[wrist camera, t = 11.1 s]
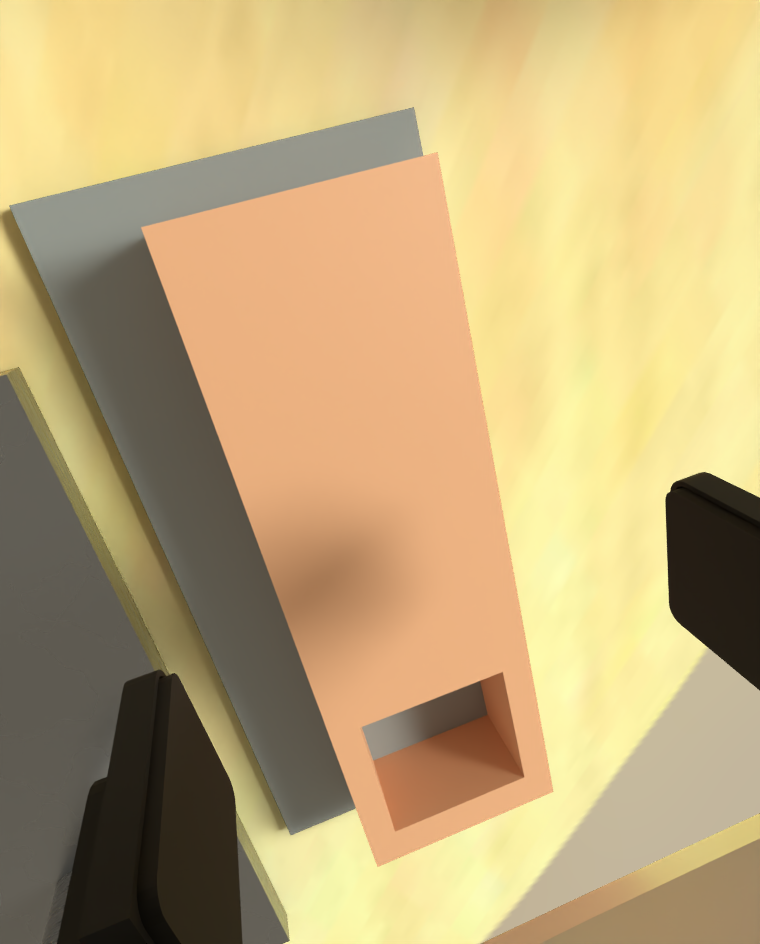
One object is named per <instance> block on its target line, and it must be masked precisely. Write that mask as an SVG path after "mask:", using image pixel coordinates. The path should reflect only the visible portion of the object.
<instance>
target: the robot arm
mask: <svg viewBox="0 0 760 944" xmlns="http://www.w3.org/2000/svg"><path fill="white" fill-rule="evenodd" d="M665 502H666V530H667V558H668V586H669V606H670V610H671V612H672V614H673V616H674V618H675V619H676V620H677V621H678V622H679V623H680V624H681V625H682V626H683V627H684V628H685V629H687V630H688V631H689V632H690V633H691V634H693V635H694V636H695V637H696V638H697V639H699V640H700V641H701V642H702V643H703V644H705V645H706V646H707V647H708V648H709V649H711V650H712V651H713V652H714V653H715V654H717V655H718V656H719V657H720V658H721V659H723V660H724V661H725V662H726V663H727V664H729V665H730V666H731V667H732V668H733V669H735V670H736V671H737V672H738V673H739V674H741V675H742V676H743V677H744V678H746V679H747V680H748V681H749V682H750V683H751V684H753V685H754V686H755V687H756V688H757V689H759V690H760V498H759V497H757V496H755V495H753V494H751V493H749V492H747V491H745V490H743V489H741V488H739V487H737V486H734V485H732V484H730V483H728V482H726V481H724V480H722V479H720V478H718V477H716V476H714V475H712V474H709V473H706V472H702V473H698V474H695V475H693V476H690V477H687V478H684V479H682V480H679V481H676V482H675V483H673V485H672V487H671V491H670V492H669V493H668V494H667V496H666V501H665ZM57 944H243V941H242V922H241V902H240V883H239V863H238V844H237V825H236V805H235V796H234V791H233V787H232V784H231V781H230V779H229V777H228V775H227V773H226V771H225V769H224V767H223V765H222V763H221V761H220V759H219V757H218V755H217V753H216V751H215V749H214V747H213V745H212V743H211V741H210V739H209V737H208V735H207V733H206V731H205V729H204V727H203V725H202V723H201V721H200V719H199V717H198V715H197V713H196V711H195V709H194V707H193V705H192V703H191V701H190V699H189V697H188V695H187V693H186V691H185V689H184V687H183V685H182V683H181V681H180V679H179V677H178V676H177V675H176V674H175V673H174V674H171V675H168V676H166V675H165V673H164V672H163V671H162V670H156V671H153V672H151V673H148V674H145V675H142V676H140V677H137V678H134V679H131V680H129V681H126V682H125V683H124V686H123V691H122V696H121V702H120V707H119V713H118V719H117V724H116V730H115V735H114V741H113V746H112V752H111V757H110V763H109V768H108V774H107V777H105V778H102V779H100V780H97V781H95V782H94V783H93V785H92V786H91V787H90V790H89V793H88V796H87V801H86V806H85V811H84V815H83V820H82V825H81V830H80V835H79V839H78V844H77V849H76V854H75V859H74V863H73V868H72V873H71V878H70V882H69V887H68V892H67V897H66V902H65V906H64V911H63V916H62V921H61V926H60V930H59V935H58V940H57ZM481 944H760V813H759V814H757V815H755V816H753V817H751V818H748V819H746V820H744V821H742V822H740V823H738V824H736V825H733V826H731V827H729V828H727V829H725V830H723V831H720V832H718V833H716V834H714V835H712V836H710V837H707V838H705V839H703V840H701V841H699V842H697V843H695V844H693V845H690V846H688V847H686V848H684V849H682V850H680V851H677V852H675V853H673V854H671V855H669V856H667V857H664V858H662V859H660V860H658V861H656V862H654V863H652V864H650V865H647V866H645V867H643V868H641V869H639V870H637V871H634V872H632V873H630V874H628V875H626V876H624V877H622V878H619V879H617V880H615V881H613V882H611V883H609V884H607V885H605V886H602V887H600V888H598V889H596V890H594V891H592V892H589V893H587V894H585V895H583V896H581V897H579V898H577V899H574V900H573V901H570V902H568V903H566V904H564V905H562V906H560V907H558V908H555V909H553V910H551V911H549V912H547V913H545V914H543V915H541V916H539V917H536V918H535V919H532V920H530V921H528V922H526V923H524V924H522V925H519V926H517V927H515V928H513V929H511V930H509V931H507V932H505V933H503V934H500V935H498V936H496V937H494V938H492V939H490V940H488V941H486V942H483V943H481Z"/></svg>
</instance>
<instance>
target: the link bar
mask: <svg viewBox="0 0 760 944" xmlns="http://www.w3.org/2000/svg"><path fill="white" fill-rule="evenodd" d="M141 229H142V232H143V234H144V237H145V240H146V243H147V245H148V248H149V251H150V253H151V256H152V259H153V261H154V264H155V267H156V270H157V272H158V275H159V278H160V280H161V283H162V286H163V288H164V291H165V294H166V297H167V299H168V302H169V305H170V307H171V310H172V313H173V315H174V318H175V321H176V324H177V326H178V329H179V332H180V334H181V337H182V340H183V342H184V345H185V348H186V351H187V353H188V356H189V359H190V361H191V364H192V367H193V369H194V372H195V375H196V378H197V380H198V383H199V386H200V388H201V391H202V394H203V396H204V399H205V402H206V405H207V407H208V410H209V413H210V415H211V418H212V421H213V423H214V426H215V429H216V432H217V434H218V437H219V440H220V442H221V445H222V448H223V450H224V453H225V456H226V459H227V461H228V464H229V467H230V469H231V472H232V475H233V477H234V480H235V483H236V486H237V488H238V491H239V494H240V496H241V499H242V502H243V504H244V507H245V510H246V513H247V515H248V518H249V521H250V523H251V526H252V529H253V531H254V534H255V537H256V540H257V542H258V545H259V548H260V550H261V553H262V556H263V558H264V561H265V564H266V567H267V569H268V572H269V575H270V577H271V580H272V583H273V585H274V588H275V591H276V594H277V596H278V599H279V602H280V604H281V607H282V610H283V612H284V615H285V618H286V621H287V623H288V626H289V629H290V631H291V634H292V637H293V639H294V642H295V645H296V648H297V650H298V653H299V656H300V658H301V661H302V664H303V666H304V669H305V672H306V675H307V677H308V680H309V683H310V685H311V688H312V691H313V693H314V696H315V699H316V702H317V704H318V707H319V710H320V712H321V715H322V718H323V720H324V723H325V726H326V729H327V731H328V734H329V737H330V739H331V742H332V745H333V747H334V750H335V753H336V756H337V758H338V761H339V764H340V766H341V769H342V772H343V774H344V777H345V780H346V783H347V785H348V788H349V791H350V793H351V796H352V799H353V801H354V804H355V807H356V810H357V812H358V815H359V818H360V820H361V823H362V826H363V828H364V831H365V834H366V837H367V839H368V842H369V845H370V847H371V850H372V853H373V855H374V858H375V861H376V864H377V866H378V867H379V866H381V865H383V864H386V863H388V862H390V861H393V860H395V859H397V858H400V857H402V856H404V855H407V854H409V853H411V852H414V851H416V850H418V849H421V848H423V847H425V846H428V845H430V844H432V843H435V842H437V841H439V840H442V839H444V838H446V837H449V836H451V835H453V834H456V833H458V832H460V831H463V830H465V829H467V828H470V827H472V826H474V825H477V824H479V823H481V822H484V821H486V820H488V819H491V818H493V817H495V816H498V815H500V814H502V813H505V812H507V811H509V810H512V809H514V808H516V807H519V806H521V805H523V804H526V803H528V802H530V801H533V800H535V799H537V798H540V797H542V796H544V795H547V794H549V793H551V792H553V787H552V782H551V776H550V771H549V765H548V760H547V754H546V749H545V743H544V738H543V732H542V727H541V721H540V716H539V710H538V704H537V699H536V693H535V688H534V682H533V677H532V671H531V666H530V660H529V655H528V649H527V644H526V638H525V633H524V627H523V622H522V616H521V611H520V605H519V600H518V594H517V588H516V583H515V577H514V572H513V566H512V561H511V555H510V550H509V544H508V539H507V533H506V528H505V522H504V517H503V511H502V506H501V500H500V495H499V489H498V484H497V478H496V472H495V467H494V461H493V456H492V450H491V445H490V439H489V434H488V428H487V423H486V417H485V412H484V406H483V401H482V395H481V390H480V384H479V379H478V373H477V368H476V362H475V356H474V351H473V345H472V340H471V334H470V329H469V323H468V318H467V312H466V307H465V301H464V296H463V290H462V285H461V279H460V274H459V268H458V263H457V257H456V251H455V246H454V240H453V235H452V229H451V224H450V218H449V213H448V207H447V202H446V196H445V191H444V185H443V180H442V174H441V169H440V163H439V158H438V152H437V153H433V154H429V155H425V156H421V157H417V158H413V159H409V160H405V161H401V162H397V163H393V164H389V165H385V166H381V167H377V168H373V169H369V170H365V171H361V172H358V173H354V174H350V175H346V176H342V177H338V178H334V179H330V180H326V181H322V182H318V183H314V184H310V185H306V186H302V187H298V188H294V189H290V190H286V191H282V192H278V193H275V194H271V195H267V196H263V197H259V198H255V199H251V200H247V201H243V202H239V203H235V204H231V205H227V206H223V207H219V208H215V209H211V210H207V211H203V212H199V213H195V214H192V215H188V216H184V217H180V218H176V219H172V220H168V221H164V222H160V223H156V224H152V225H148V226H144V227H141ZM478 681H480V683H481V687H482V692H483V696H484V701H485V705H486V709H487V714H488V715H486V716H483V717H481V718H478V719H476V720H473V721H471V722H468V723H466V724H463V725H461V726H458V727H456V728H453V729H451V730H448V731H446V732H443V733H441V734H438V735H436V736H433V737H431V738H428V739H426V740H423V741H421V742H418V743H416V744H413V745H411V746H408V747H406V748H403V749H401V750H398V751H396V752H393V753H391V754H388V755H386V756H383V757H381V758H378V759H376V760H373V759H372V756H371V753H370V750H369V747H368V744H367V741H366V738H365V735H364V732H363V729H362V727H363V726H366V725H368V724H371V723H373V722H376V721H379V720H381V719H384V718H386V717H389V716H391V715H394V714H396V713H399V712H402V711H404V710H407V709H409V708H412V707H414V706H417V705H419V704H422V703H425V702H427V701H430V700H432V699H435V698H437V697H440V696H442V695H445V694H448V693H450V692H453V691H455V690H458V689H460V688H463V687H465V686H468V685H470V684H473V683H476V682H478Z"/></svg>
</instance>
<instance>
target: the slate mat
mask: <svg viewBox="0 0 760 944" xmlns="http://www.w3.org/2000/svg"><path fill="white" fill-rule="evenodd" d="M421 156H423V152H422V147H421V142H420V136H419V131H418V126H417V121H416V116H415V110H414V107H413V108H409V109H405V110H401V111H397V112H393V113H388V114H384V115H380V116H376V117H372V118H368V119H364V120H360V121H356V122H351V123H347V124H343V125H339V126H335V127H331V128H327V129H323V130H319V131H314V132H310V133H306V134H302V135H298V136H294V137H290V138H286V139H282V140H277V141H273V142H269V143H265V144H261V145H257V146H253V147H249V148H245V149H240V150H236V151H232V152H228V153H224V154H220V155H216V156H212V157H208V158H203V159H199V160H195V161H191V162H187V163H183V164H179V165H175V166H171V167H166V168H162V169H158V170H154V171H150V172H146V173H142V174H138V175H134V176H129V177H125V178H121V179H117V180H113V181H109V182H105V183H101V184H97V185H92V186H88V187H84V188H80V189H76V190H72V191H68V192H64V193H60V194H55V195H51V196H47V197H43V198H39V199H35V200H31V201H27V202H23V203H18V204H14V205H10V206H9V207H10V209H11V211H12V213H13V216H14V218H15V220H16V222H17V225H18V227H19V229H20V231H21V234H22V236H23V238H24V240H25V242H26V245H27V247H28V249H29V251H30V254H31V256H32V258H33V260H34V263H35V265H36V267H37V269H38V272H39V274H40V276H41V278H42V280H43V283H44V285H45V287H46V289H47V292H48V294H49V296H50V298H51V301H52V303H53V305H54V307H55V309H56V312H57V314H58V316H59V318H60V321H61V323H62V325H63V327H64V330H65V332H66V334H67V336H68V339H69V341H70V343H71V345H72V347H73V350H74V352H75V354H76V356H77V359H78V361H79V363H80V365H81V368H82V370H83V372H84V374H85V377H86V379H87V381H88V383H89V385H90V388H91V390H92V392H93V394H94V397H95V399H96V401H97V403H98V406H99V408H100V410H101V412H102V415H103V417H104V419H105V421H106V423H107V426H108V428H109V430H110V432H111V435H112V437H113V439H114V441H115V444H116V446H117V448H118V450H119V453H120V455H121V457H122V459H123V461H124V464H125V466H126V468H127V470H128V473H129V475H130V477H131V479H132V482H133V484H134V486H135V488H136V490H137V493H138V495H139V497H140V499H141V502H142V504H143V506H144V508H145V511H146V513H147V515H148V517H149V520H150V522H151V524H152V526H153V528H154V531H155V533H156V535H157V537H158V540H159V542H160V544H161V546H162V549H163V551H164V553H165V555H166V558H167V560H168V562H169V564H170V566H171V569H172V571H173V573H174V575H175V578H176V580H177V582H178V584H179V587H180V589H181V591H182V593H183V596H184V598H185V600H186V602H187V604H188V607H189V609H190V611H191V613H192V616H193V618H194V620H195V622H196V625H197V627H198V629H199V631H200V634H201V636H202V638H203V640H204V642H205V645H206V647H207V649H208V651H209V654H210V656H211V658H212V660H213V663H214V665H215V667H216V669H217V671H218V674H219V676H220V678H221V680H222V683H223V685H224V687H225V689H226V692H227V694H228V696H229V698H230V701H231V703H232V705H233V707H234V709H235V712H236V714H237V716H238V718H239V721H240V723H241V725H242V727H243V730H244V732H245V734H246V736H247V739H248V741H249V743H250V745H251V747H252V750H253V752H254V754H255V756H256V759H257V761H258V763H259V765H260V768H261V770H262V772H263V774H264V777H265V779H266V781H267V783H268V785H269V788H270V790H271V792H272V794H273V797H274V799H275V801H276V803H277V806H278V808H279V810H280V812H281V815H282V817H283V819H284V821H285V823H286V826H287V828H288V830H289V832H290V835H293V834H295V833H297V832H300V831H302V830H305V829H307V828H309V827H312V826H314V825H317V824H319V823H322V822H324V821H326V820H329V819H331V818H334V817H336V816H339V815H341V814H343V813H346V812H348V811H351V810H353V809H355V808H356V807H355V804H354V801H353V799H352V796H351V793H350V791H349V788H348V785H347V783H346V780H345V777H344V774H343V772H342V769H341V766H340V764H339V761H338V758H337V756H336V753H335V750H334V747H333V745H332V742H331V739H330V737H329V734H328V731H327V729H326V726H325V723H324V720H323V718H322V715H321V712H320V710H319V707H318V704H317V702H316V699H315V696H314V693H313V691H312V688H311V685H310V683H309V680H308V677H307V675H306V672H305V669H304V666H303V664H302V661H301V658H300V656H299V653H298V650H297V648H296V645H295V642H294V639H293V637H292V634H291V631H290V629H289V626H288V623H287V621H286V618H285V615H284V612H283V610H282V607H281V604H280V602H279V599H278V596H277V594H276V591H275V588H274V585H273V583H272V580H271V577H270V575H269V572H268V569H267V567H266V564H265V561H264V558H263V556H262V553H261V550H260V548H259V545H258V542H257V540H256V537H255V534H254V531H253V529H252V526H251V523H250V521H249V518H248V515H247V513H246V510H245V507H244V504H243V502H242V499H241V496H240V494H239V491H238V488H237V486H236V483H235V480H234V477H233V475H232V472H231V469H230V467H229V464H228V461H227V459H226V456H225V453H224V450H223V448H222V445H221V442H220V440H219V437H218V434H217V432H216V429H215V426H214V423H213V421H212V418H211V415H210V413H209V410H208V407H207V405H206V402H205V399H204V396H203V394H202V391H201V388H200V386H199V383H198V380H197V378H196V375H195V372H194V369H193V367H192V364H191V361H190V359H189V356H188V353H187V351H186V348H185V345H184V342H183V340H182V337H181V334H180V332H179V329H178V326H177V324H176V321H175V318H174V315H173V313H172V310H171V307H170V305H169V302H168V299H167V297H166V294H165V291H164V288H163V286H162V283H161V280H160V278H159V275H158V272H157V270H156V267H155V264H154V261H153V259H152V256H151V253H150V251H149V248H148V245H147V243H146V240H145V237H144V234H143V232H142V229H141V227H144V226H148V225H152V224H156V223H160V222H164V221H168V220H172V219H176V218H180V217H184V216H188V215H192V214H195V213H199V212H203V211H207V210H211V209H215V208H219V207H223V206H227V205H231V204H235V203H239V202H243V201H247V200H251V199H255V198H259V197H263V196H267V195H271V194H275V193H278V192H282V191H286V190H290V189H294V188H298V187H302V186H306V185H310V184H314V183H318V182H322V181H326V180H330V179H334V178H338V177H342V176H346V175H350V174H354V173H358V172H361V171H365V170H369V169H373V168H377V167H381V166H385V165H389V164H393V163H397V162H401V161H405V160H409V159H413V158H417V157H421ZM486 715H488V714H487V709H486V705H485V701H484V696H483V692H482V687H481V683H480V681H478V682H476V683H473V684H470V685H468V686H465V687H463V688H460V689H458V690H455V691H453V692H450V693H448V694H445V695H442V696H440V697H437V698H435V699H432V700H430V701H427V702H425V703H422V704H419V705H417V706H414V707H412V708H409V709H407V710H404V711H402V712H399V713H396V714H394V715H391V716H389V717H386V718H384V719H381V720H379V721H376V722H373V723H371V724H368V725H366V726H363V727H362V729H363V732H364V735H365V738H366V741H367V744H368V747H369V750H370V753H371V756H372V759H373V760H376V759H378V758H381V757H383V756H386V755H388V754H391V753H393V752H396V751H398V750H401V749H403V748H406V747H408V746H411V745H413V744H416V743H418V742H421V741H423V740H426V739H428V738H431V737H433V736H436V735H438V734H441V733H443V732H446V731H448V730H451V729H453V728H456V727H458V726H461V725H463V724H466V723H468V722H471V721H473V720H476V719H478V718H481V717H483V716H486Z"/></svg>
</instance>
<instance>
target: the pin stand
mask: <svg viewBox="0 0 760 944" xmlns="http://www.w3.org/2000/svg"><path fill="white" fill-rule="evenodd" d="M156 670H162V671H163V672H164V673H165V675H166V676H168V675H169V673H168V671H167V669H166V667H165V665H164V663H163V661H162V659H161V657H160V655H159V653H158V651H157V649H156V647H155V645H154V643H153V640H152V638H151V636H150V634H149V632H148V630H147V628H146V626H145V624H144V622H143V620H142V618H141V616H140V614H139V612H138V610H137V608H136V606H135V604H134V602H133V600H132V598H131V596H130V593H129V591H128V589H127V587H126V585H125V583H124V581H123V579H122V577H121V575H120V573H119V571H118V569H117V567H116V565H115V563H114V561H113V559H112V557H111V555H110V553H109V551H108V549H107V546H106V544H105V542H104V540H103V538H102V536H101V534H100V532H99V530H98V528H97V526H96V524H95V522H94V520H93V518H92V516H91V514H90V512H89V510H88V508H87V506H86V504H85V501H84V499H83V497H82V495H81V493H80V491H79V489H78V487H77V485H76V483H75V481H74V479H73V477H72V475H71V473H70V471H69V469H68V467H67V465H66V463H65V461H64V459H63V457H62V454H61V452H60V450H59V448H58V446H57V444H56V442H55V440H54V438H53V436H52V434H51V432H50V430H49V428H48V426H47V424H46V422H45V420H44V418H43V416H42V414H41V412H40V410H39V407H38V405H37V403H36V401H35V399H34V397H33V395H32V393H31V391H30V389H29V387H28V385H27V383H26V381H25V379H24V377H23V375H22V373H21V371H20V369H19V367H18V368H14V369H11V370H7V371H4V372H0V944H57V940H58V935H59V930H60V926H61V921H62V916H63V911H64V906H65V902H66V897H67V892H68V887H69V882H70V878H71V873H72V868H73V863H74V859H75V854H76V849H77V844H78V839H79V835H80V830H81V825H82V820H83V815H84V811H85V806H86V801H87V796H88V793H89V790H90V787H91V786H92V785H93V783H94V782H95V781H97V780H100V779H102V778H105V777H107V774H108V768H109V763H110V757H111V752H112V746H113V741H114V735H115V730H116V724H117V719H118V713H119V707H120V702H121V696H122V691H123V686H124V683H125V682H126V681H129V680H131V679H134V678H137V677H140V676H142V675H145V674H148V673H151V672H153V671H156ZM236 825H237V844H238V863H239V883H240V902H241V922H242V941H243V944H283V943H285V942H288V941H290V940H289V931H288V922H287V914H286V912H285V910H284V908H283V906H282V904H281V902H280V900H279V898H278V896H277V894H276V892H275V890H274V888H273V886H272V884H271V882H270V880H269V878H268V876H267V873H266V871H265V869H264V867H263V865H262V863H261V861H260V859H259V857H258V855H257V853H256V851H255V849H254V847H253V845H252V843H251V841H250V839H249V837H248V835H247V833H246V831H245V828H244V826H243V824H242V822H241V820H240V818H239V816H238V814H237V812H236Z"/></svg>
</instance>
